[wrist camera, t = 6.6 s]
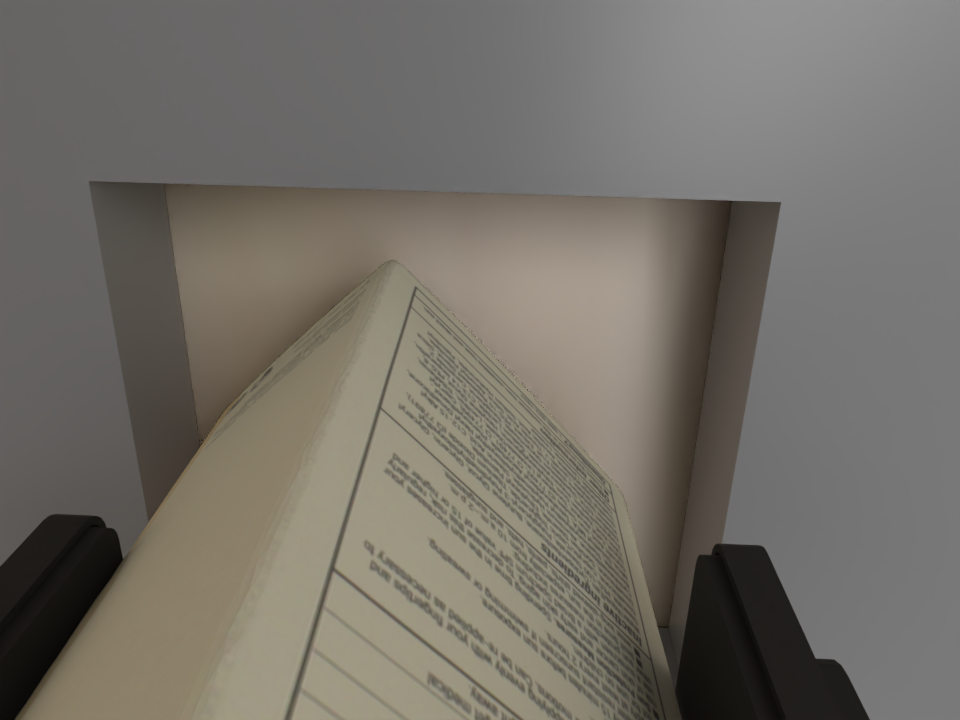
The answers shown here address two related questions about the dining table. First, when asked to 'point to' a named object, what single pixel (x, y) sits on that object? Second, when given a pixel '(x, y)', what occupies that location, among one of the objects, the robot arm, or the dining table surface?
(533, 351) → the dining table surface
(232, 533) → the skincare box
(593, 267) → the dining table surface
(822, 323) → the socket block
